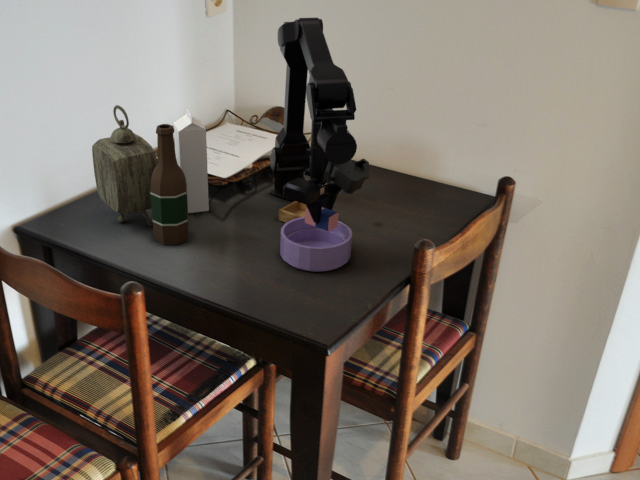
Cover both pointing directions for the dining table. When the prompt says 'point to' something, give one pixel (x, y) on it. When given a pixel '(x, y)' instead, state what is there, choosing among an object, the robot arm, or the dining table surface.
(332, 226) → the eraser
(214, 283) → the dining table surface
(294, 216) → the tray
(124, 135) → the tabletop clock
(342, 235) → the bowl
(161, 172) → the beer bottle
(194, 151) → the milk
